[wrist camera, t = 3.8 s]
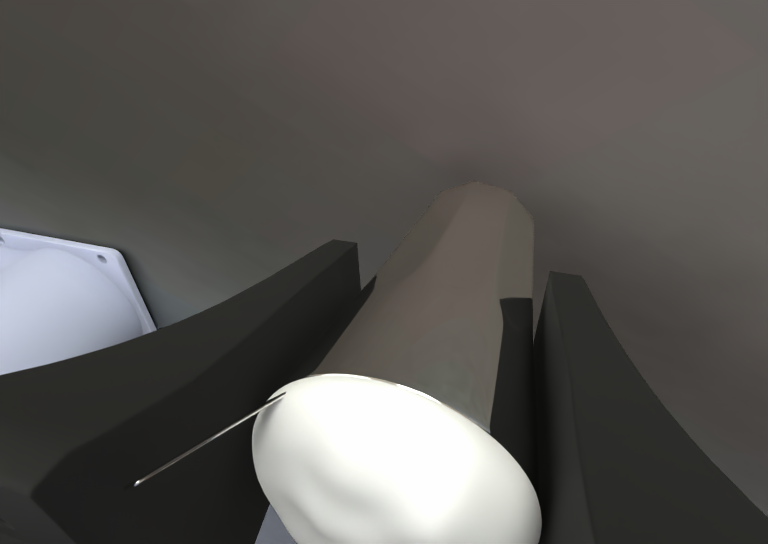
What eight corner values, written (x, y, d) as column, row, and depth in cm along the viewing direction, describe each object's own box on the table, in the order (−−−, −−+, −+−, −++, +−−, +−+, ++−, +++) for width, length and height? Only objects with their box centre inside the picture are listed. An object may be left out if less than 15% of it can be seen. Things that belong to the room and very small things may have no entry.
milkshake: (471, 95, 11) (217, 446, 3) (595, 251, 12) (618, 772, 4) (356, 195, 14) (77, 508, 6) (466, 313, 15) (346, 698, 7)
